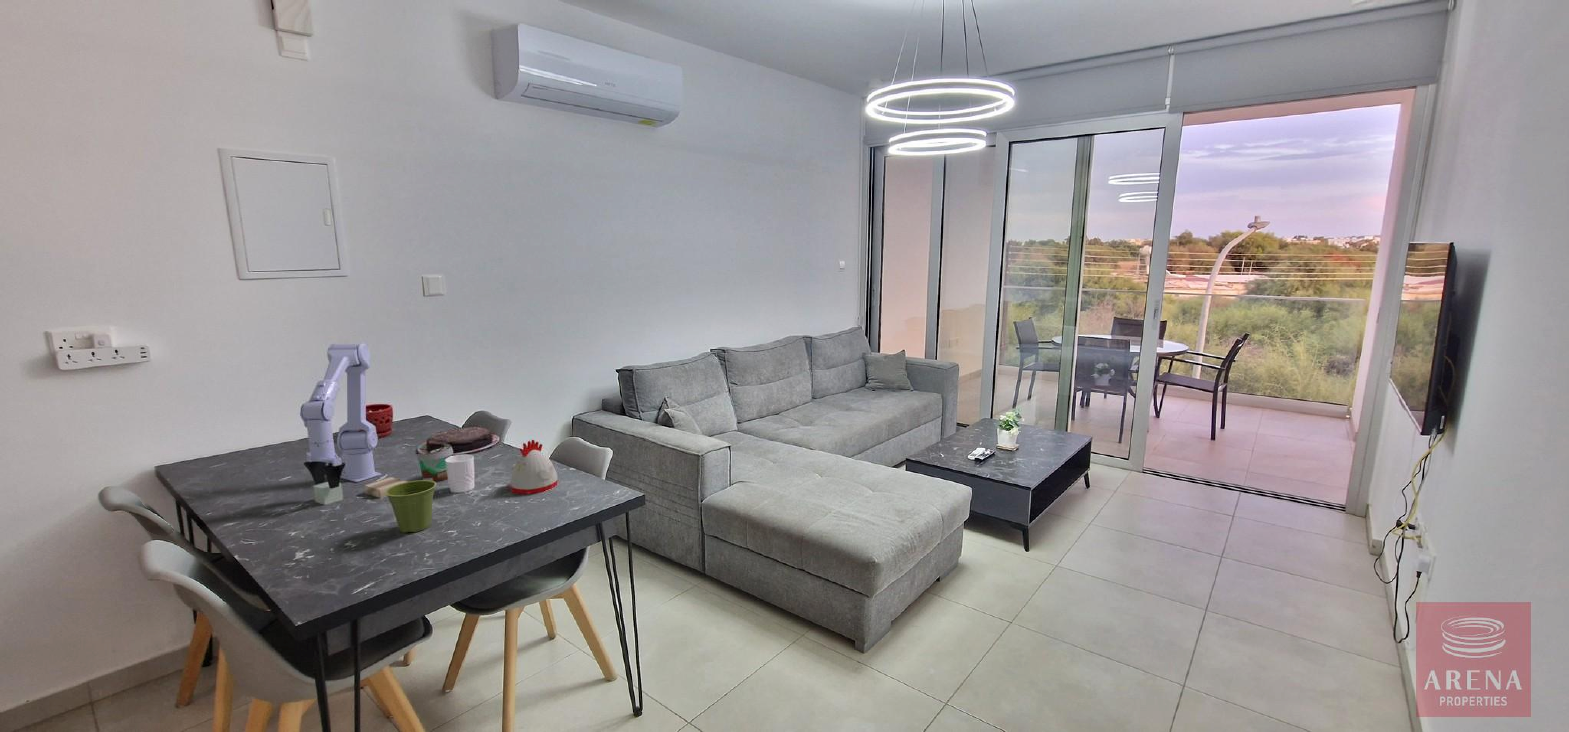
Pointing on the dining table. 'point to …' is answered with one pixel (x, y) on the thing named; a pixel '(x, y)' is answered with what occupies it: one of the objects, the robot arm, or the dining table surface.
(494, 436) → the chocolate cake
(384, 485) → the oak block
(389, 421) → the plant pot
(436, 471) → the food container
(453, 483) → the white cup
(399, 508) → the plant pot
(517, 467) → the kitchen timer
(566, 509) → the dining table surface
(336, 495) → the sage cube
